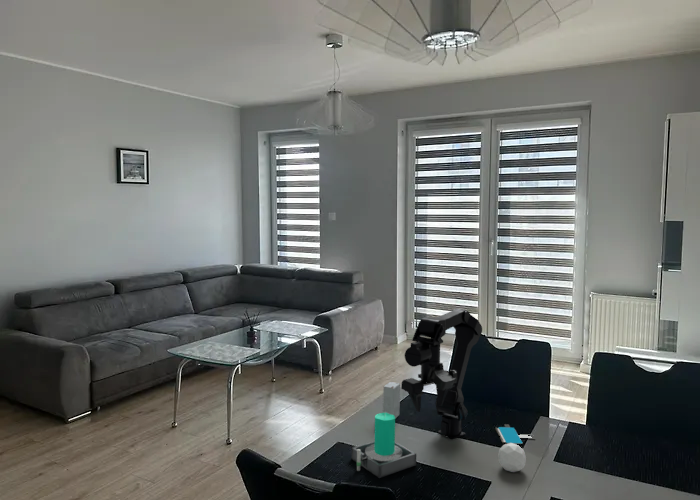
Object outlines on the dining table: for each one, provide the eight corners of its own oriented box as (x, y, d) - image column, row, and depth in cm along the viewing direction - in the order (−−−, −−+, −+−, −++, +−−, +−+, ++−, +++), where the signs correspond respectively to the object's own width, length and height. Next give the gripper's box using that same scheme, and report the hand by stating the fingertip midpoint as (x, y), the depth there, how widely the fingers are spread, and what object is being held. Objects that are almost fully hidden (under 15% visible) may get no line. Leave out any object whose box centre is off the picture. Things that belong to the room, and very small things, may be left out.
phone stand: (543, 453, 166) (543, 448, 166) (504, 452, 167) (504, 446, 167) (525, 426, 186) (526, 422, 186) (491, 425, 187) (491, 421, 187)
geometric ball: (516, 482, 153) (522, 469, 147) (490, 465, 156) (495, 452, 151) (527, 462, 157) (533, 448, 152) (502, 446, 161) (507, 432, 156)
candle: (386, 457, 154) (387, 417, 153) (370, 451, 158) (370, 411, 157) (398, 450, 159) (399, 411, 158) (382, 444, 163) (382, 406, 162)
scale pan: (386, 443, 166) (386, 440, 166) (410, 457, 157) (410, 453, 157) (350, 454, 158) (350, 450, 158) (373, 469, 149) (373, 465, 149)
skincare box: (388, 413, 196) (389, 380, 195) (400, 415, 194) (400, 382, 193) (381, 419, 190) (382, 385, 189) (393, 421, 188) (394, 388, 187)
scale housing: (387, 447, 168) (387, 429, 167) (416, 465, 157) (416, 445, 156) (343, 461, 159) (343, 441, 158) (371, 480, 147) (371, 459, 147)
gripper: (425, 370, 153) (424, 424, 154) (471, 360, 163) (469, 410, 165) (400, 361, 162) (399, 411, 163) (445, 352, 173) (444, 399, 174)
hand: (429, 408), depth 166 cm, fingers open, 9 cm apart
